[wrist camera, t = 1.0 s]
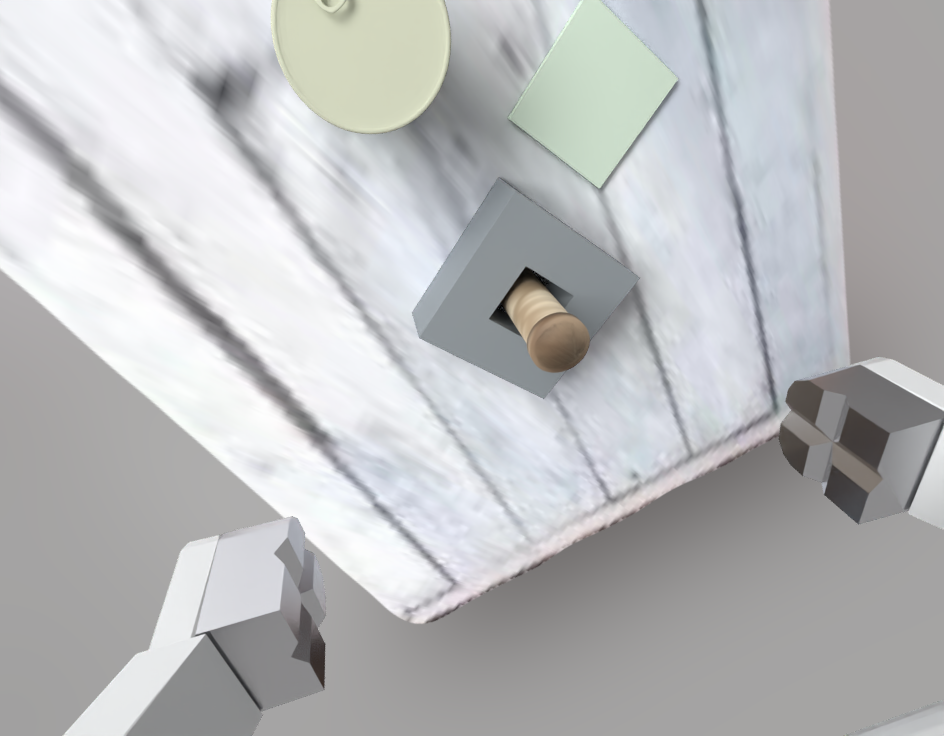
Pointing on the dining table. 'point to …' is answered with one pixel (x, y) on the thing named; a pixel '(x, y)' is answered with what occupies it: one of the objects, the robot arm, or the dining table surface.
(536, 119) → the mat
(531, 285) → the plug
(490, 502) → the dining table surface
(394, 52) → the can
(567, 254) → the socket
